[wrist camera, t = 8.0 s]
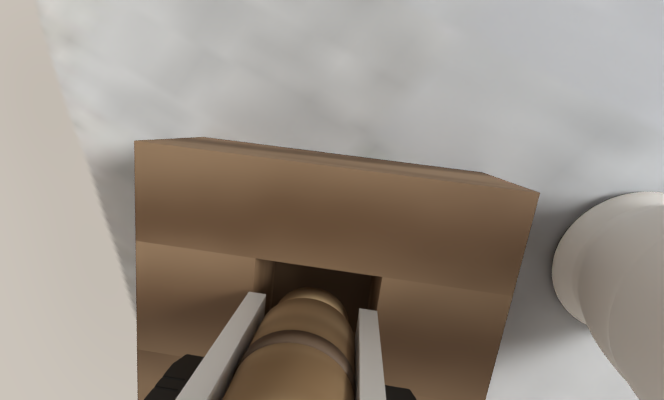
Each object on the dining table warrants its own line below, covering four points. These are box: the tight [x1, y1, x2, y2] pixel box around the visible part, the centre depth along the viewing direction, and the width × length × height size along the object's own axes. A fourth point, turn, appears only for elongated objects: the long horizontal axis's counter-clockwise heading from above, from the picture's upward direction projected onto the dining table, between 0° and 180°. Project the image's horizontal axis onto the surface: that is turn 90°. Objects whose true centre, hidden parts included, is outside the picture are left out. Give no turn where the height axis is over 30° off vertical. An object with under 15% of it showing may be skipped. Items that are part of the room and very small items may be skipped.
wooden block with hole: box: [134, 137, 540, 400], centre depth 18 cm, size 18×16×6 cm
